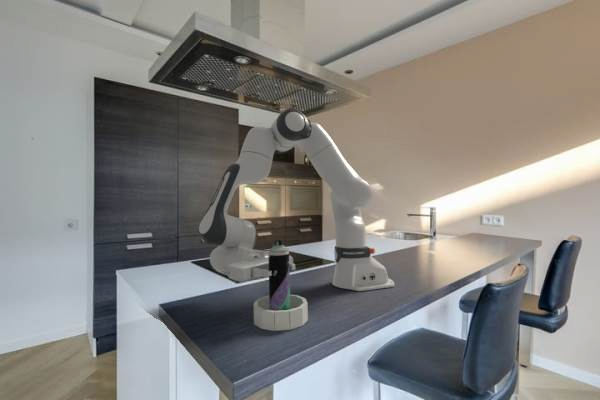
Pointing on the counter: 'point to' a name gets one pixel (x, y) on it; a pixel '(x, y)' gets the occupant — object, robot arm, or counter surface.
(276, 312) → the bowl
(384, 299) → the counter surface
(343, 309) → the counter surface
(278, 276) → the spray can
